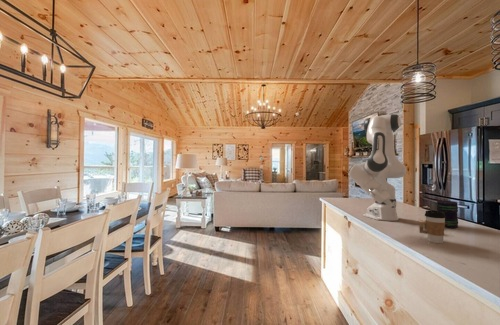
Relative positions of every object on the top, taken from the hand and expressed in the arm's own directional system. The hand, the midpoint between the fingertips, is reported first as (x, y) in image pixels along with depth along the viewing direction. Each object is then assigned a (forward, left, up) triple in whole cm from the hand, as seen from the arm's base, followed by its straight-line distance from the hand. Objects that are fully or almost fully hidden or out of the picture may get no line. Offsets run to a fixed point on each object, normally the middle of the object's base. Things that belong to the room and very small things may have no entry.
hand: (392, 206), depth 129 cm
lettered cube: (+5, +21, -16) cm, 27 cm away
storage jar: (+4, +44, -16) cm, 47 cm away
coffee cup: (+16, +9, -16) cm, 24 cm away
